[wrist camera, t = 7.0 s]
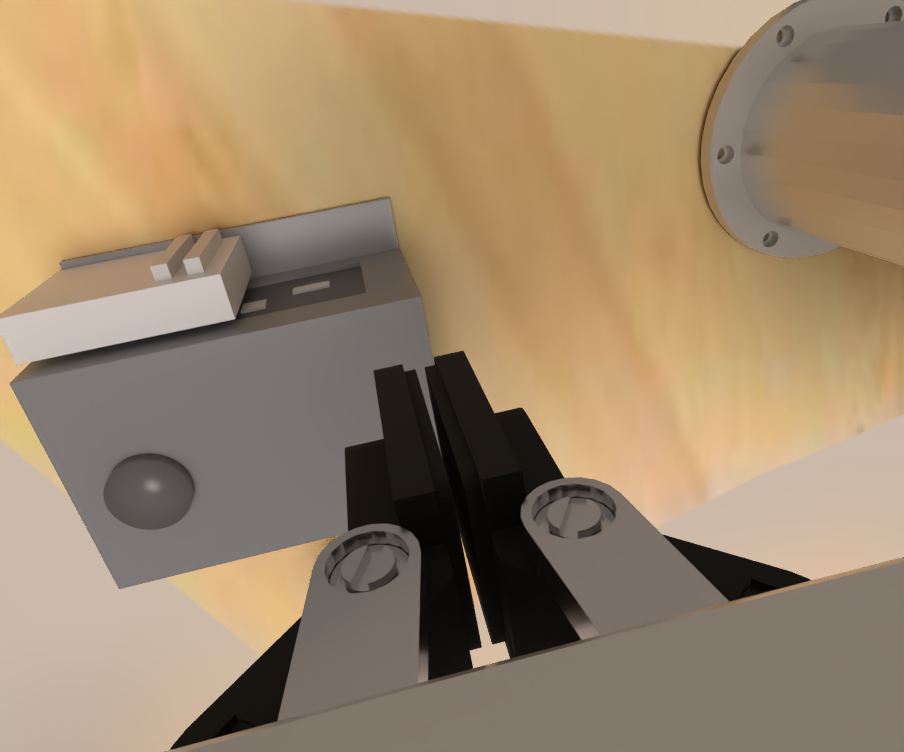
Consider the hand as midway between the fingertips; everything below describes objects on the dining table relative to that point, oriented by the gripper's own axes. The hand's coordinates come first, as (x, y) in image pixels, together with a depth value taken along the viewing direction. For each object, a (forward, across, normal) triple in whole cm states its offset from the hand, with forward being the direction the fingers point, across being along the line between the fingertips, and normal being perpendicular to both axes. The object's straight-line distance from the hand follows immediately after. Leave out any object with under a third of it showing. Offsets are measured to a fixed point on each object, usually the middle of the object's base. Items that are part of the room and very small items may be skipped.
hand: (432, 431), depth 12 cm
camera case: (+21, +6, +6) cm, 22 cm away
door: (+20, +10, 0) cm, 22 cm away
